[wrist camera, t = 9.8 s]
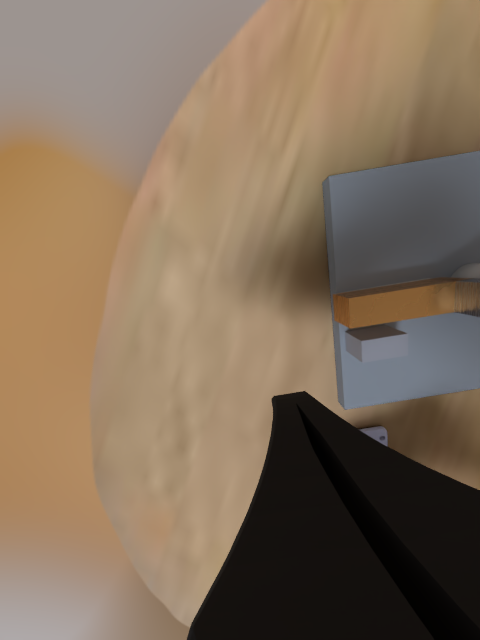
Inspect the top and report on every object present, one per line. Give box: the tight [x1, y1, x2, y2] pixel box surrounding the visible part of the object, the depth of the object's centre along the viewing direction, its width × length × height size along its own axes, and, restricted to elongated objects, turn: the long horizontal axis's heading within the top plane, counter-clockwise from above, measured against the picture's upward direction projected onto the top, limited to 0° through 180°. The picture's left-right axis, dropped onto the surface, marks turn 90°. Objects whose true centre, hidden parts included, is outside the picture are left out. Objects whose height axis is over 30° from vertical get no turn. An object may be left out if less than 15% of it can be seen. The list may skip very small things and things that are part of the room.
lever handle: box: [333, 277, 480, 329], centre depth 15 cm, size 13×5×4 cm, turn 99°
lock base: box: [322, 151, 480, 410], centre depth 17 cm, size 18×20×4 cm
